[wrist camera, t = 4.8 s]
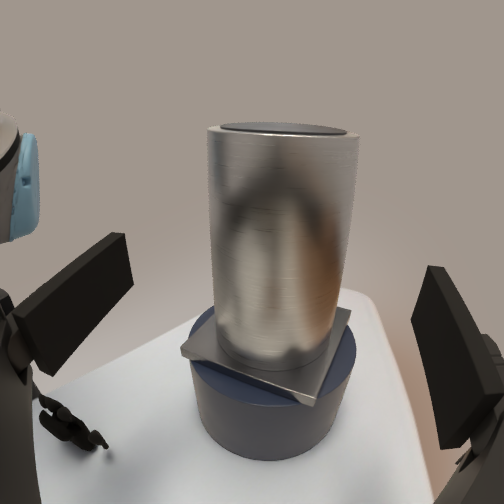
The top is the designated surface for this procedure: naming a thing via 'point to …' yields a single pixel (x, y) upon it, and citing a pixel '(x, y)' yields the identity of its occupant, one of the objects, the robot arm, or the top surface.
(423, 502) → the top surface
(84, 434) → the wireless earbuds
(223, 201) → the cup
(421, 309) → the robot arm
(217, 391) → the navy cylinder with lid
